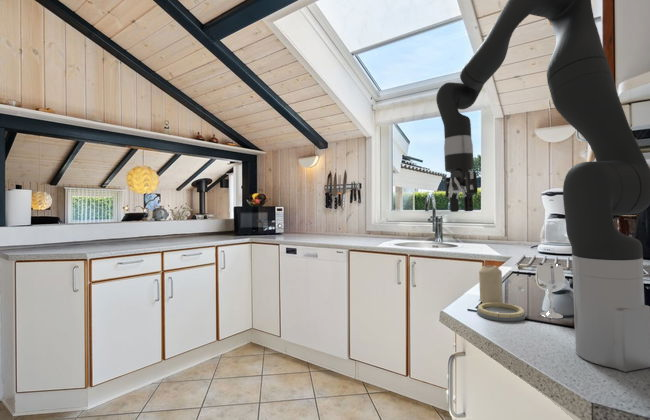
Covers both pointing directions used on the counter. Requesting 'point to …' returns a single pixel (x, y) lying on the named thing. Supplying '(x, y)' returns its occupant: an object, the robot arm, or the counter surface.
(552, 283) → the wineglass
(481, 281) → the candle
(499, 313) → the beige ring
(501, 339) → the counter surface
